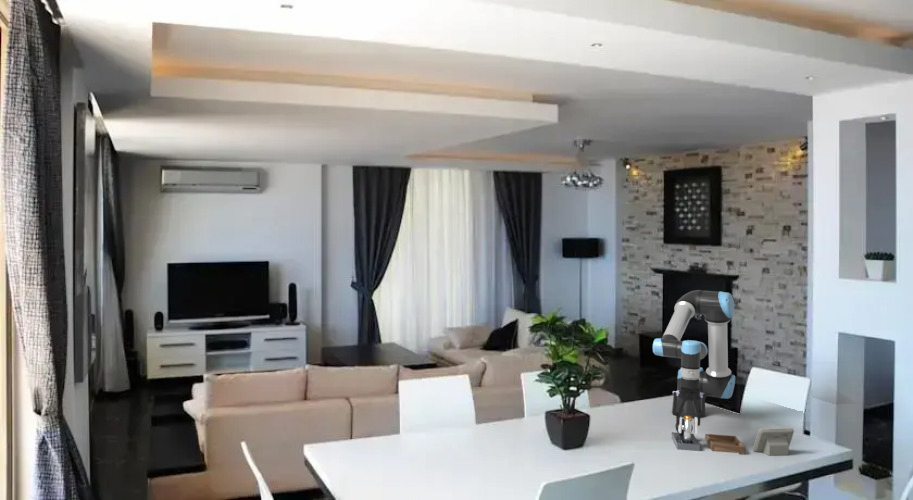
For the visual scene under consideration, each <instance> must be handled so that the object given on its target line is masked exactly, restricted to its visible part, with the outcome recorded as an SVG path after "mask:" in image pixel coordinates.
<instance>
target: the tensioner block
mask: <svg viewBox="0 0 913 500" xmlns="http://www.w3.org/2000/svg"><path fill="white" fill-rule="evenodd" d="M684 419H685V418H682V427H681V433H679V431H678V428H679V425H677V423H676V422H675V425H674V426H675V427H674V428H675V430H676V432H671V439H672V442H673V444H674V446H675V447H676V449H677V450H679V451H680V450H681V451H695V452H700V451H701V445H700V443H699V441H698V439H697V437H696V436H695V433H691V443H684ZM693 426H694V425H692V430H694V427H693Z"/></svg>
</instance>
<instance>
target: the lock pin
mask: <svg viewBox="0 0 913 500" xmlns="http://www.w3.org/2000/svg"><path fill="white" fill-rule="evenodd" d="M683 419H684V443H691V434H692V433H693V429H692V426H693V418H692V416H688V415H686V416H685V417H684V418H683Z"/></svg>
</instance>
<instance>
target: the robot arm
mask: <svg viewBox="0 0 913 500" xmlns="http://www.w3.org/2000/svg"><path fill="white" fill-rule="evenodd" d="M673 310H674V312H673V314H672V315H671V318H670V320H669V323H668V325H667V326H666V329H665V331H664V333H663V335H662V337H660V338H654V340H653V343H652V353H653V354H654V355H655V356H659V357H666V358H673V359H674V358H675V359H676V358H677V359H681V360H680V362H681V363H680V369H678V371H677V378H676V379H677V385H676V386H677V388H676V389H677V390H676V391H675V390H672V397H673V398H672V409H671V414H672V415H673V416H675V418H676V419H675V420H676V421H675V424H676V423H677V425H679V428H678V431H679V433H681V427H682V419H683V418H685V416H686V415H688V416H692V419H694V425H693V426H694V427H693V432H694V433H693V434H694V435H698V427H700V426H701V419H702V418H705V417H706V399H707V397H712V398H718V399H727V400H728V399H730V398H732V396H733V393H734V389H735V384H736V376H735V374H732V370H731V369H730V368H729V367H728V366H729V362H728V361H729V357H728V356H729V354H728V353H729V351H728V349H729V348H728V323H729V322H730V321H731V318H734V315H735V301H734V297H733V295H732V294H731V293H730V292H724V291H722V290H721V291H715V290H714V291H713V290H702V289H697V290H696V289H695V290H691V291H688V292H687V293H685V294H684V295H682V296H681V297H679V299H678V300H676V303H675V305H674V309H673ZM695 315H699V316H704V321H705V322H706V323H707V335H708V342H707V343H708V347H707V345H706V344H705V343H704V342H702V341H698V340H691V339H690V340H689V339H687V340H681V339H682V337H683V335H684V333H685V332H686V329H687V326H688V324H689V323H690V320H691V319H692V318H693V317H694V316H695ZM707 355H708V367H707V368H706V370H705V371H704V368H703V367H701V360H703V359H705V357H706V356H707ZM682 417H683V418H682Z"/></svg>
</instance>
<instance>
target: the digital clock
mask: <svg viewBox="0 0 913 500" xmlns="http://www.w3.org/2000/svg"><path fill="white" fill-rule="evenodd" d="M794 432H795V430H794V428H792V427H773V428H772V427H771V428H770V427H769V428H768V427H767V428H766V427H764V428H759V429H758V431H757V434H756V437H755V440H754V444H753V447H752V450H753V452H757V453H763V454H765V455H767V456H769V457H771V456H772V457H773V456H775V457H777V456H779V457H780V456H789V451H790V450H789V448H790V445H791V442H792V438H793V437H794Z"/></svg>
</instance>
